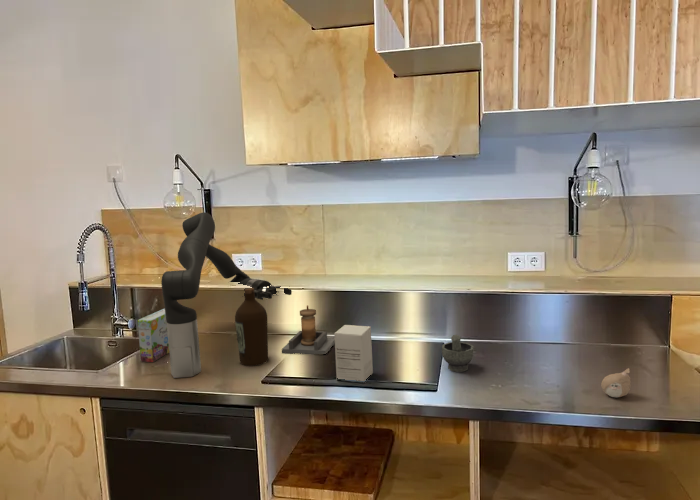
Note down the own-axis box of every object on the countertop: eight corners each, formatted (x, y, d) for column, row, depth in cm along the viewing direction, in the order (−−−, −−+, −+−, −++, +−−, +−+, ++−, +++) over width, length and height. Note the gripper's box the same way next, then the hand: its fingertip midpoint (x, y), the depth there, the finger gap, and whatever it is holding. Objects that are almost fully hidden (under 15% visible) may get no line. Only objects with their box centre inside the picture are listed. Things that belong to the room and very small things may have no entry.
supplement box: (346, 370, 160) (344, 324, 158) (373, 372, 157) (371, 325, 155) (335, 381, 152) (333, 332, 150) (364, 384, 149) (362, 334, 147)
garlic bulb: (621, 403, 130) (622, 373, 129) (596, 395, 135) (597, 366, 134) (634, 396, 134) (635, 366, 132) (609, 388, 139) (610, 360, 138)
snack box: (154, 362, 175) (150, 320, 173) (140, 362, 176) (135, 319, 174) (186, 343, 196) (182, 304, 194) (173, 342, 197) (169, 304, 195)
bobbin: (317, 345, 181) (316, 308, 179) (301, 346, 181) (299, 309, 179) (316, 340, 187) (315, 304, 185) (301, 341, 186) (299, 305, 184)
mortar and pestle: (444, 361, 164) (443, 325, 163) (474, 363, 162) (473, 326, 160) (440, 374, 154) (439, 336, 152) (472, 376, 151) (471, 337, 149)
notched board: (336, 342, 189) (335, 330, 188) (325, 355, 175) (325, 342, 175) (295, 340, 193) (294, 329, 192) (281, 353, 179) (281, 340, 179)
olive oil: (264, 353, 179) (260, 284, 176) (274, 362, 170) (269, 289, 167) (234, 359, 175) (229, 288, 171) (242, 369, 165) (237, 293, 162)
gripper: (242, 282, 197) (263, 286, 185) (273, 277, 206) (296, 281, 194) (243, 301, 198) (264, 307, 186) (274, 295, 207) (297, 300, 195)
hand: (280, 294), depth 190 cm, fingers open, 8 cm apart
